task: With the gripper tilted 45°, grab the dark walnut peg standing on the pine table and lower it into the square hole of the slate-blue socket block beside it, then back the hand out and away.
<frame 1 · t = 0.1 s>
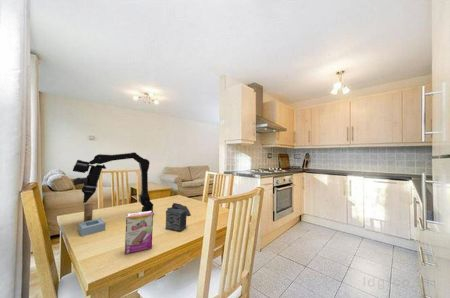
hand: (85, 200, 102), 15 cm above the table, tool pointing down, fingers open, 9 cm apart
candy bar box: (138, 249, 80), on the table
dark slate chunk: (178, 212, 130), on the table
walnut peg: (88, 224, 105), on the table
small box: (176, 228, 102), on the table
socket block: (91, 230, 98), on the table
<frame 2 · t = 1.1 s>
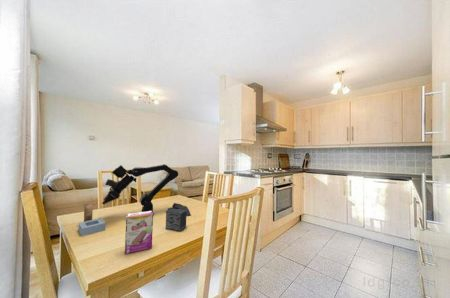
hand: (103, 201, 109), 13 cm above the table, tool tilted 45°, fingers open, 9 cm apart
nothing on the table moved.
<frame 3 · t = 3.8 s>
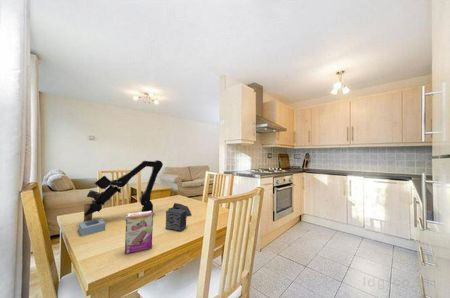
hand: (85, 214, 104), 7 cm above the table, tool tilted 45°, fingers closed on walnut peg, 4 cm apart
walnut peg: (87, 224, 105), on the table, touching gripper
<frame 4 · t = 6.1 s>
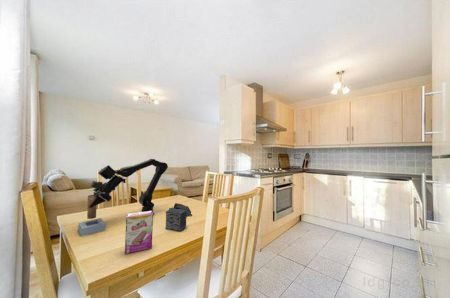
hand: (89, 206, 98), 13 cm above the table, tool tilted 45°, fingers closed on walnut peg, 4 cm apart
walnut peg: (91, 217, 99), point 7 cm above the table, touching gripper
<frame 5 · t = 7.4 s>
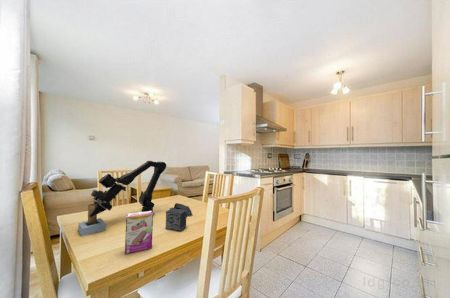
hand: (89, 215, 97), 8 cm above the table, tool tilted 45°, fingers closed on walnut peg, 4 cm apart
walnut peg: (92, 226, 98), point 2 cm above the table, touching gripper
when the fingers open (8 cm above the table, at t = 8.5 s): walnut peg drops 1 cm, resting in socket block.
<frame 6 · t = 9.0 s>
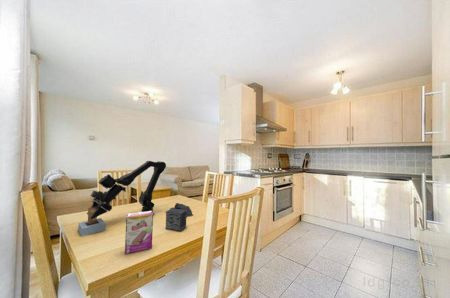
hand: (89, 216, 97), 8 cm above the table, tool tilted 45°, fingers open, 9 cm apart
walnut peg: (91, 230, 98), resting in socket block
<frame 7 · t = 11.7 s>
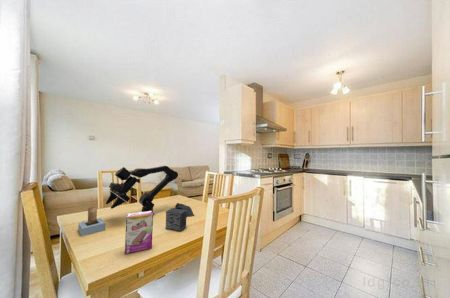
hand: (108, 206, 105), 11 cm above the table, tool tilted 40°, fingers open, 9 cm apart
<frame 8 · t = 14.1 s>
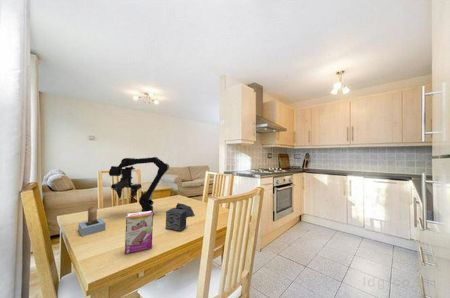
hand: (126, 198, 120), 12 cm above the table, tool pointing down, fingers open, 9 cm apart
at the end: walnut peg 0.0 cm from the socket block (horizontally); walnut peg resting in socket block; walnut peg tilted 0° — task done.
